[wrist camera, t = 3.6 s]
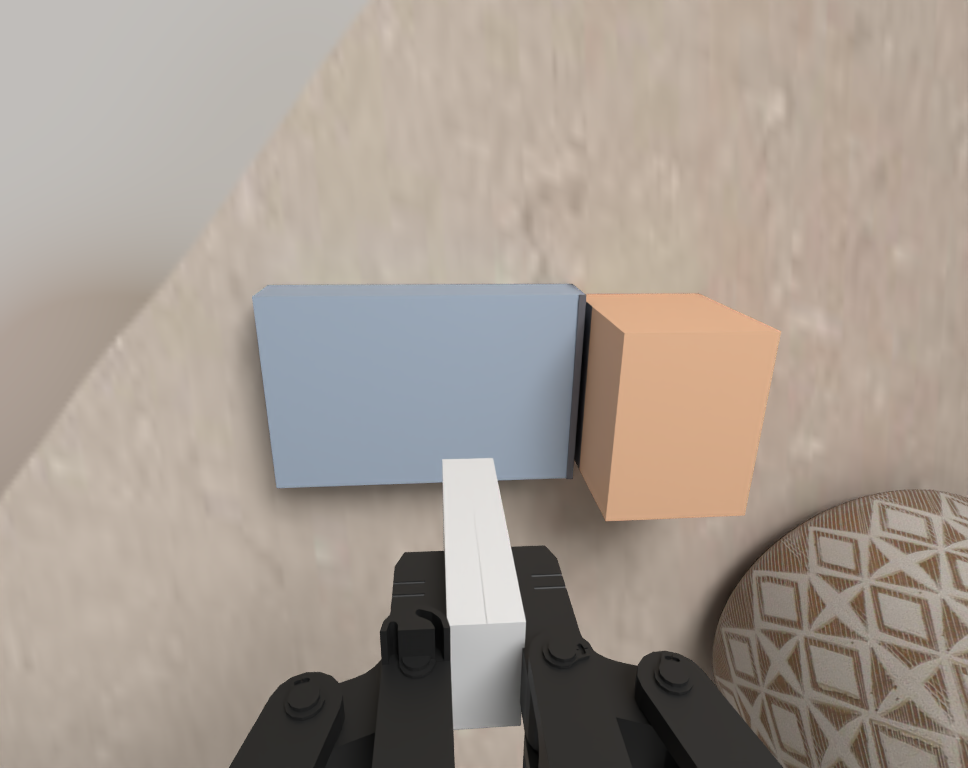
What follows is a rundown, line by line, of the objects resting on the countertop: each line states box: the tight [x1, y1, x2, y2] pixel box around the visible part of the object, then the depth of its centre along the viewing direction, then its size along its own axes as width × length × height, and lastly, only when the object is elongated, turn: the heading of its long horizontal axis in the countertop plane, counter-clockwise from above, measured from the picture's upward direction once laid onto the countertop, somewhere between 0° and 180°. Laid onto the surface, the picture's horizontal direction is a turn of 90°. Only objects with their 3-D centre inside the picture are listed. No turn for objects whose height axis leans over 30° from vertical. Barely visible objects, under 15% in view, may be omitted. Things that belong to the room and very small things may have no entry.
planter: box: [712, 490, 968, 768], centre depth 29 cm, size 19×19×16 cm
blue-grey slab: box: [252, 284, 586, 488], centre depth 27 cm, size 14×9×3 cm, turn 89°
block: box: [574, 294, 781, 521], centre depth 26 cm, size 6×8×7 cm
